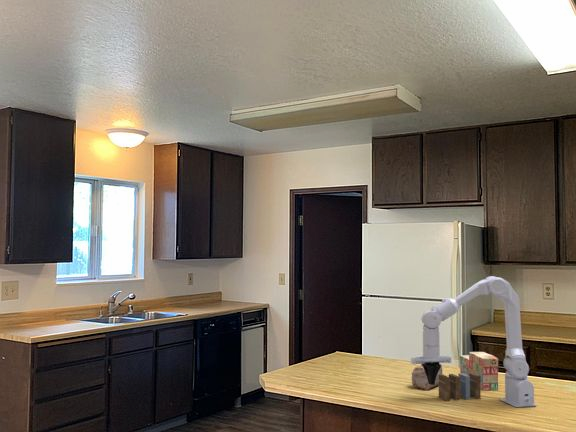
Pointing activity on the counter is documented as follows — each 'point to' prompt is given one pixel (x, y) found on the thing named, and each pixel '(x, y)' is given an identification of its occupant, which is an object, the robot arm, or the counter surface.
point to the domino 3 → (475, 386)
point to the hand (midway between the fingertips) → (431, 384)
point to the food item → (423, 378)
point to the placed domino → (464, 386)
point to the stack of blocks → (481, 369)
